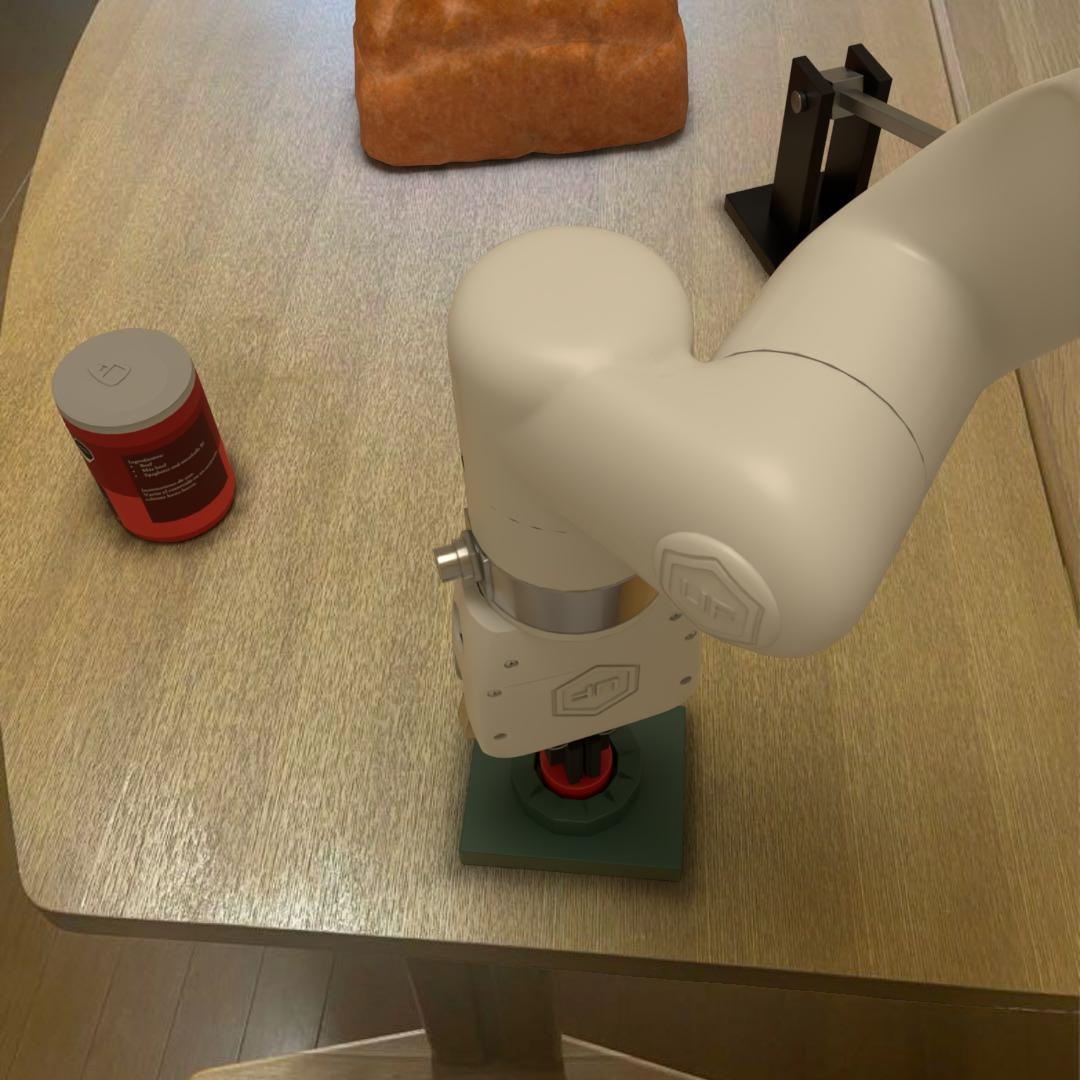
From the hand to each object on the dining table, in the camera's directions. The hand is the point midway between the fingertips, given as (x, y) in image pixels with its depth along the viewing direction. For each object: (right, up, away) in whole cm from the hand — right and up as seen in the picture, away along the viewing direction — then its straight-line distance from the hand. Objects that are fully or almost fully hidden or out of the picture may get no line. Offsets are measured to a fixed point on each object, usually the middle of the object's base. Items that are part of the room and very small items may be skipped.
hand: (574, 754), depth 59 cm
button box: (0, -2, +3) cm, 4 cm away
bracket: (+18, +33, +29) cm, 47 cm away
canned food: (-25, +13, +16) cm, 32 cm away
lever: (+20, +35, +14) cm, 43 cm away
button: (0, -1, +1) cm, 2 cm away
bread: (-3, +46, +39) cm, 60 cm away
